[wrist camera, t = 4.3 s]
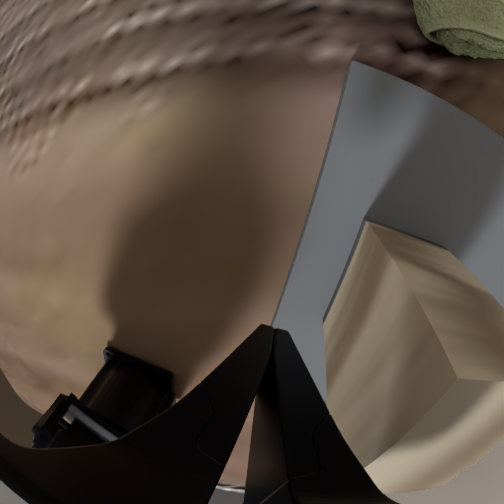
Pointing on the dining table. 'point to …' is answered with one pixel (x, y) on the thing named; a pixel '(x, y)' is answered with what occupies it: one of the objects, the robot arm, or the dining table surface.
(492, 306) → the maple block
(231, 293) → the dining table surface
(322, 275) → the rubber pad
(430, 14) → the washcloth
